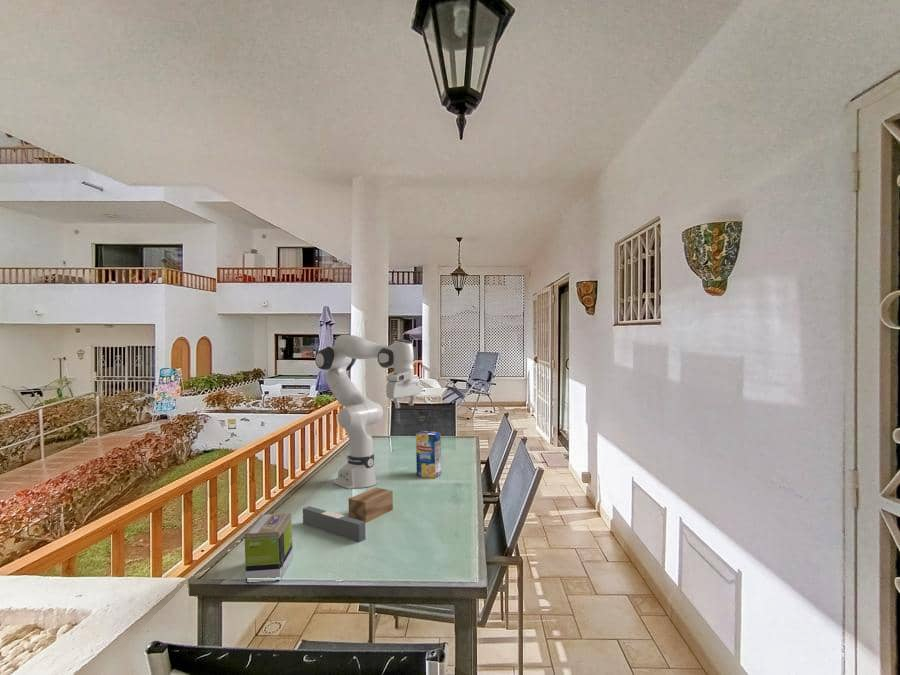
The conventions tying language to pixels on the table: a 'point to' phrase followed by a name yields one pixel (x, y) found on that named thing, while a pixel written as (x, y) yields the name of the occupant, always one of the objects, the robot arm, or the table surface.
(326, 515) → the stop board
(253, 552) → the tea box
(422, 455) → the beverage box
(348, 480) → the robot arm
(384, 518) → the table surface
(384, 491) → the walnut block
